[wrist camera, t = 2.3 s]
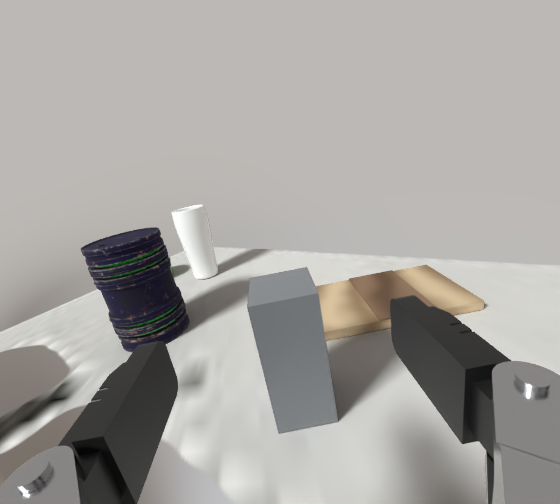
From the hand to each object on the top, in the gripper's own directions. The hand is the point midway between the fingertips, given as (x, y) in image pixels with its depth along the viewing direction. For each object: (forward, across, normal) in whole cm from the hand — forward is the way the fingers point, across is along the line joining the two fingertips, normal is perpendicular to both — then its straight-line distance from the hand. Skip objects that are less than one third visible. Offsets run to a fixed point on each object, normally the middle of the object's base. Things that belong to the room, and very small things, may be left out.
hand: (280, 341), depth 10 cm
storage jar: (+30, +20, +15) cm, 39 cm away
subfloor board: (+26, -11, +15) cm, 31 cm away
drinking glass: (+50, +16, +15) cm, 54 cm away
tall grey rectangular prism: (+12, 0, +15) cm, 19 cm away
